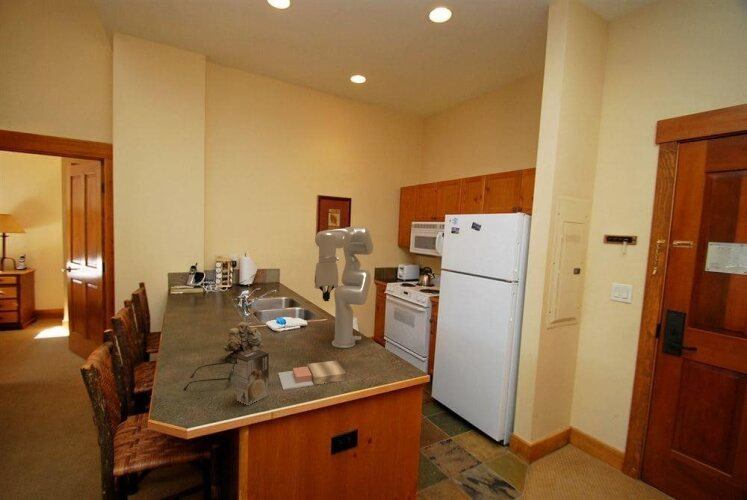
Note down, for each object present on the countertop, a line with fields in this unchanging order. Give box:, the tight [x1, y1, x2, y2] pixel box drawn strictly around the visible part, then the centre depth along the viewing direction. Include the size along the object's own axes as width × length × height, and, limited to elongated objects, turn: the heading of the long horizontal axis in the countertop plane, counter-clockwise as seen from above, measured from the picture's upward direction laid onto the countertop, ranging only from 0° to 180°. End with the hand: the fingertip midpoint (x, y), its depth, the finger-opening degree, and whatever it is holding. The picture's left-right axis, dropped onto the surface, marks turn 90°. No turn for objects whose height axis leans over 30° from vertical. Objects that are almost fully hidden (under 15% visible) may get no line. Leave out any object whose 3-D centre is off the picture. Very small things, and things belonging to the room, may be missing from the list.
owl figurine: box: [222, 321, 265, 365], centre depth 156 cm, size 18×12×17 cm, turn 129°
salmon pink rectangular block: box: [292, 365, 313, 383], centre depth 137 cm, size 6×9×2 cm, turn 22°
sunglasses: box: [182, 361, 236, 391], centre depth 132 cm, size 16×17×5 cm
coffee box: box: [236, 349, 270, 406], centre depth 120 cm, size 9×6×16 cm
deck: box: [306, 360, 347, 386], centre depth 141 cm, size 13×14×3 cm
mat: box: [278, 370, 315, 391], centre depth 136 cm, size 12×15×1 cm
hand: (326, 300), depth 151 cm, fingers closed
